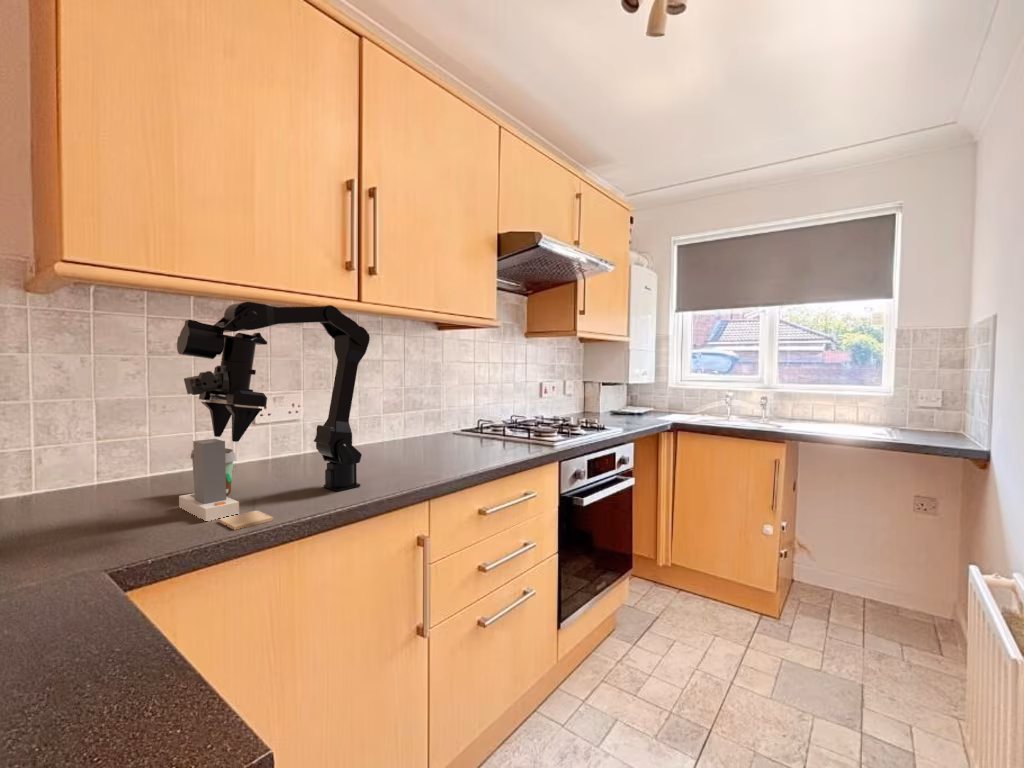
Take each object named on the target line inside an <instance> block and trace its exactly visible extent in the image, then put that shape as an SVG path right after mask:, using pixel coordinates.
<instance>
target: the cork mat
mask: <svg viewBox="0 0 1024 768" xmlns="http://www.w3.org/2000/svg"><path fill="white" fill-rule="evenodd" d="M273 521H274V517H273V516H271V515H268V514H267V513H263V512H261V511H260V510H253V511H252V510H251V511H247V512H244V513H239V514H238V515H234V516H229V517H225V518H221V519H218V523H220V524H222V525H224V526H226V525H227V526H226V527H228V528H230V529H232V530H233V529H234V531H237V530H240V528H241V529H245V528H248V527H249V528H250V527H252V526H253V527H254V526H256V525H260V524H266V523H269V522H273ZM244 527H245V528H244ZM236 529H237V530H236Z"/></svg>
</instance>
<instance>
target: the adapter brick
mask: <svg viewBox="0 0 1024 768" xmlns="http://www.w3.org/2000/svg"><path fill="white" fill-rule="evenodd" d="M192 441H193V442H192V446H193V449H192V450H193V454H194V474H193V489H194V490H193V491H194V492H193V493H194V495H195V500H196V501H198V502H200V503H203V504H208V503H213V502H218V501H223V500H226V497H227V496H226V465H225V448H226V441H225V440H222V439H219V438H218V439H217V438H208V439H200V440H192Z"/></svg>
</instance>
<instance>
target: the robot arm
mask: <svg viewBox="0 0 1024 768" xmlns="http://www.w3.org/2000/svg"><path fill="white" fill-rule="evenodd" d="M223 315H224V316H223V317H222V318H220V319H219V320H218V321H217V322H216V323H214V324H208V323H203V322H200V321H198V320H193V319H186V320H184V325H183V327H182V329H181V330H180V332H179V333H180V334H179V335H178V337H177V339H176V340H177V342H176V349H177V350H176V351H177V353H178V354H179V355H182V356H188V357H189V356H190V357H195V358H203V359H209V360H214V359H215V358H216V357H217V356H220V355H221V354H222V355H221V358H220V359H221V361H220V365H216V366H215V367H214V371H213V372H212V371H211V370H207V371H205V372H203V371H202V372H199V374H198V375H195V376H190V377H188V376H187V377H184V378H183V380H184V381H183V382H184V385H185V389H186V393H187V395H193V396H197V395H199V398H198V400H200V401H201V404H202V405H204V406H205V408H207V409H208V410H209V413H210V418H211V425H212V431H213V436H214V438H215V437H216V438H220V437H221V436H222V435H223V433H224V431H225V429H226V426H227V425H228V423H229V421H230V419H231V441H232V443H233V442H237V443H239V442H240V441H241V439H242V437H244V435H245V432H247V430H248V428H249V427H250V425H251V424H252V422H253V421H254V420H256V417H257V416H258V414H259V413H260V412H262V411H263V408H267V402H268V397H267V396H266V395H265V393H264V392H259V391H254V389H251V387H250V386H251V381H252V380H251V379H252V376H253V375H254V376H256V374H257V371H256V369H253V365H254V359H255V352H256V346H257V345H258V346H264V345H265V346H266V345H268V341H267V340H266V339H265V338H264V337H263V336H262V334H261V332H254V333H253V334H248V333H243V332H244V331H255V330H259V329H262V328H263V329H264V328H268V327H273V326H276V325H287V324H289V325H290V324H312V323H320V325H322V326H323V328H324V330H325V331H326V333H327V334H328V335H329V336H330V338H332V339H333V341H334V344H333V345H334V346H333V347H334V353H335V356H336V360H337V363H336V370H335V374H334V375H335V377H334V381H333V388H332V392H331V397H330V398H331V399H330V404H329V409H328V410H329V411H328V415H327V416H328V417H327V419H326V421H325V422H324V424H323V425H321V424H318V425H317V426H316V435H315V438H314V440H313V442H314V443H315V447H316V450H317V452H318V453H319V454H321V456H322V459H323V461H324V462H326V469H325V471H324V481H325V483H324V484H323V485H322V486H323V488H326V489H330V490H332V491H335V492H336V491H337V492H339V491H345V490H348V489H353V488H357V487H361V483H358V482H357V481H358V480H357V468H358V467H357V464H359V463H360V462H361V458H362V455H363V454H362V452H360V451H359V450H358V449H357V448H356V447H355V446H354V445H353V431H352V428H351V425H350V424H351V423H350V416H351V410H352V403H353V398H354V391H355V384H356V379H357V373H358V367H359V364H360V362H361V361H362V359H363V358H364V356H365V355H366V353H367V350H368V347H369V345H370V341H371V340H370V338H371V336H370V333H368V330H367V329H366V328H365V327H363V326H361V325H359V324H358V323H357V322H356V321H354V320H353V319H352V318H350V317H348V316H347V315H345V314H344V313H343V312H341V311H340V310H339V308H337V307H336V306H334V305H332V304H330V305H329V304H328V305H322V306H321V305H319V306H274V305H269V304H266V303H261V302H253V301H244V302H238V303H232V304H230V305H229V306H227V308H225V311H224V314H223ZM234 332H238V333H235V335H233V336H232V335H229V334H228V335H226V334H224V333H234ZM202 400H203V401H202ZM260 407H261V408H260Z"/></svg>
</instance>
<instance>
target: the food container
mask: <svg viewBox="0 0 1024 768" xmlns="http://www.w3.org/2000/svg"><path fill="white" fill-rule="evenodd" d="M190 459H191V460H192V462H191V463H192V470H193V471H192V472H193V475H194V454H193V449H191V453H190ZM236 460H237V456H236V453H235V452H234V449H232V448H228V447H227V448H226V447H225V465H226V497H228V496H230V495H231V494H230V493H231V491H232V478H233V468H234V467H233V465H234V464H233V463H234V462H235V461H236ZM229 494H230V495H229Z"/></svg>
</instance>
